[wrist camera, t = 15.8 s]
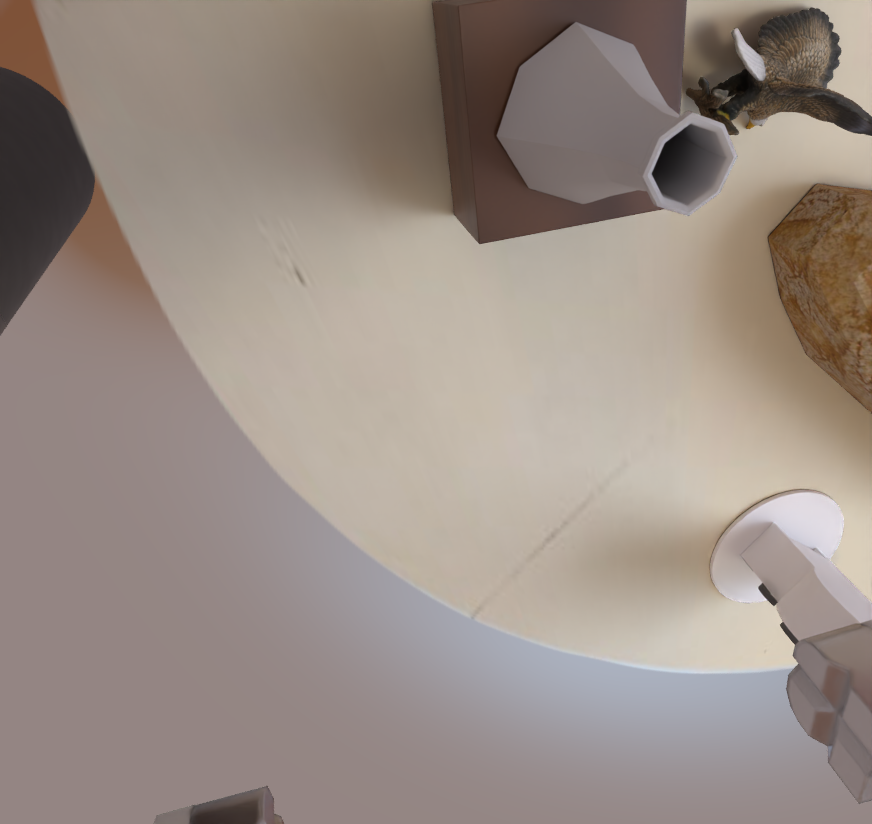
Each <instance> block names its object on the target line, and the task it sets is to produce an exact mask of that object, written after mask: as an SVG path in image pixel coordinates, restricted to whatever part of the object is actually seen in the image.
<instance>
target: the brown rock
mask: <svg viewBox="0 0 872 824" xmlns="http://www.w3.org/2000/svg"><path fill="white" fill-rule="evenodd" d="M768 239H769V244H770V248H771V253H772V258H773V263H774V268H775V273H776V278H777V283H778V288H779V293H780V298H781V300H782V302H783V305H784V307H785V309H786V311H787V313H788V315H789V318H790V320H791V322H792V324H793V326H794V329H795V331H796V333H797V335H798V337H799V340H800V342H801V344H802V346H803V348H804V351H805V353H806V355H808V356H809V357H810V358H811V359H812V360H813V361H814V362H815V363H816V364H818V365H819V366H820V367H821V368H822V369H823V370H824V371H825V372H826V373H828V374H829V375H830V376H831V377H832V378H833V379H834V380H835V381H836V382H837V383H839V384H840V385H841V386H842V387H843V388H844V389H845V390H846V391H847V392H849V393H850V394H851V395H852V396H853V397H854V398H855V399H856V400H857V401H859V402H860V403H861V404H862V405H863V406H864V407H865V408H866V409H867V410H869V411H870V412H871V413H872V191H870V190H862V189H854V188H846V187H838V186H830V185H821V184H816V185H815V186H814V187H813V188H812V189H811V190H810V192H809V193H808V194H807V195H806V196H805V197H804V198H803V199H802V200H801V201H800V203H799V204H798V205H797V206H796V207H795V208H794V209H793V210H792V211H791V213H790V214H789V215H788V216H787V217H786V218H785V219H784V220H783V221H782V222H781V224H780V225H779V226H778V227H777V228H776V229H775V230H774V231H773V232H772V233H771V235H770V236H769V237H768Z"/></svg>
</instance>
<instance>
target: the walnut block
mask: <svg viewBox="0 0 872 824" xmlns="http://www.w3.org/2000/svg"><path fill="white" fill-rule="evenodd" d="M686 2H687V0H440V1H434V2H432V6H433V16H434V25H435V35H436V44H437V54H438V63H439V73H440V82H441V92H442V101H443V111H444V121H445V130H446V140H447V149H448V159H449V168H450V178H451V187H452V197H453V206H454V215H455V216H456V218H457V219H458V220H459V221H460V222H461V223H462V225H463V226H464V227H465V228H466V229H467V230H468V232H469V233H470V234H471V235H472V236H473V237H474V239H475V240H476V241H477V242H478V243H479V244H483V243H488V242H493V241H499V240H504V239H509V238H514V237H520V236H525V235H530V234H535V233H541V232H546V231H551V230H556V229H562V228H567V227H572V226H577V225H582V224H588V223H593V222H598V221H603V220H609V219H614V218H619V217H624V216H630V215H635V214H640V213H645V212H650V211H656V210H661V209H664V208H661V207H658V206H655V205H654V204H653V202H652V200H651V198H650V196H649V194H648V192H647V191H642V190H636V191H632V192H627V193H622V194H618V195H613V196H609V197H606V198H603V199H600V200H597V201H594V202H590V203H586V204H580V203H577V202H573V201H570V200H567V199H563V198H560V197H557V196H553V195H550V194H547V193H543V192H540V191H537V190H533V189H530V188H528V186H527V184H526V183H525V181H524V179H523V178H522V176H521V175H520V173H519V171H518V170H517V168H516V167H515V165H514V163H513V162H512V160H511V158H510V157H509V155H508V154H507V152H506V150H505V149H504V147H503V145H502V144H501V142H500V141H499V139H498V137H497V133H498V130H499V127H500V124H501V121H502V118H503V115H504V112H505V109H506V106H507V103H508V100H509V97H510V94H511V91H512V88H513V85H514V82H515V79H516V76H517V73H518V70H519V67H520V66H521V65H523V64H524V63H525V62H526V61H528V60H529V59H530V58H531V57H533V56H534V55H535V54H536V53H538V52H539V51H540V50H541V49H543V48H544V47H545V46H546V45H548V44H549V43H550V42H551V41H553V40H554V39H555V38H556V37H558V36H559V35H560V34H561V33H563V32H564V31H565V30H566V29H568V28H569V27H570V26H571V25H573V24H574V23H575V22H577V23H580V24H582V25H585V26H587V27H590V28H592V29H595V30H597V31H600V32H603V33H605V34H608V35H610V36H613V37H615V38H618V39H620V40H623V41H625V42H628V43H630V44H633V45H634V46H635V48H636V50H637V51H638V53H639V55H640V57H641V59H642V61H643V63H644V65H645V67H646V69H647V71H648V73H649V75H650V77H651V79H652V80H653V82H654V84H655V85H656V87H657V88H658V90H659V92H660V93H661V95H662V97H663V98H664V100H665V102H666V103H667V105H668V106H669V107H670V108H671V109H673V110H674V111H675V112H676V113H678V114H679V115H680V105H681V87H682V70H683V53H684V36H685V19H686Z"/></svg>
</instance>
